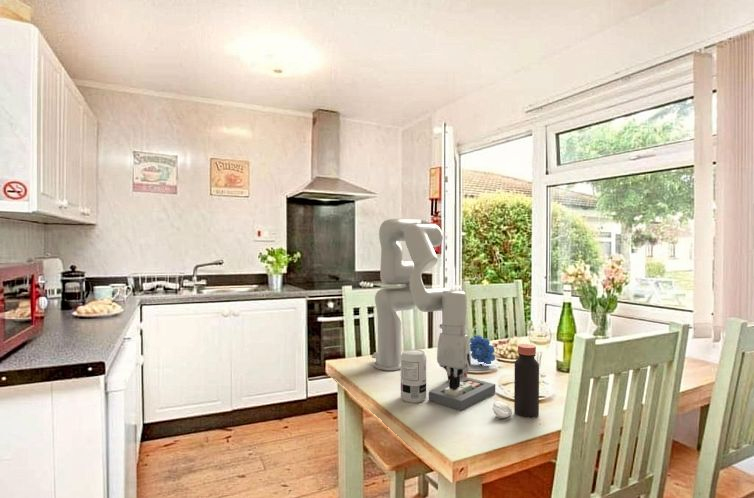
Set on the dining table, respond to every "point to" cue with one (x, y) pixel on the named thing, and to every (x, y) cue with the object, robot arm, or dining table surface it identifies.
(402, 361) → the supplement can
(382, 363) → the robot arm
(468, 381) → the key
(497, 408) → the dumpling
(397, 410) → the dining table surface
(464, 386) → the key
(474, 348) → the grapes
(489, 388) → the keypad
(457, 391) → the key
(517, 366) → the bottle
